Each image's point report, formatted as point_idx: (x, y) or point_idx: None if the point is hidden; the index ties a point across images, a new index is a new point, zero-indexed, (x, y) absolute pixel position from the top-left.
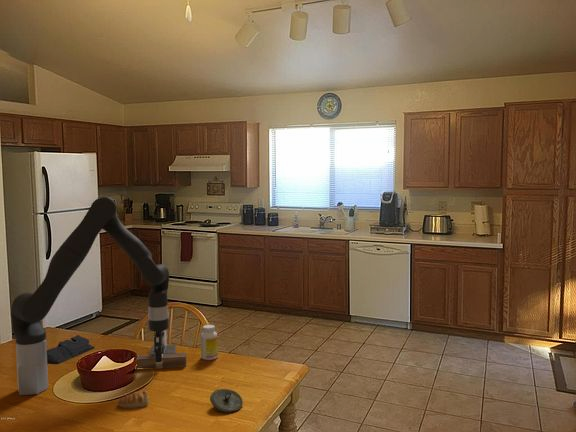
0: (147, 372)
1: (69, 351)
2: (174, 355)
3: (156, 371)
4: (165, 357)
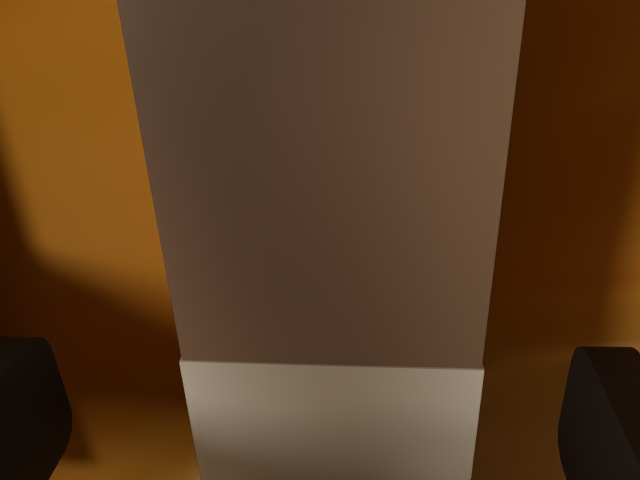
0: None
1: None
2: (337, 13)
3: (599, 314)
4: (474, 293)
